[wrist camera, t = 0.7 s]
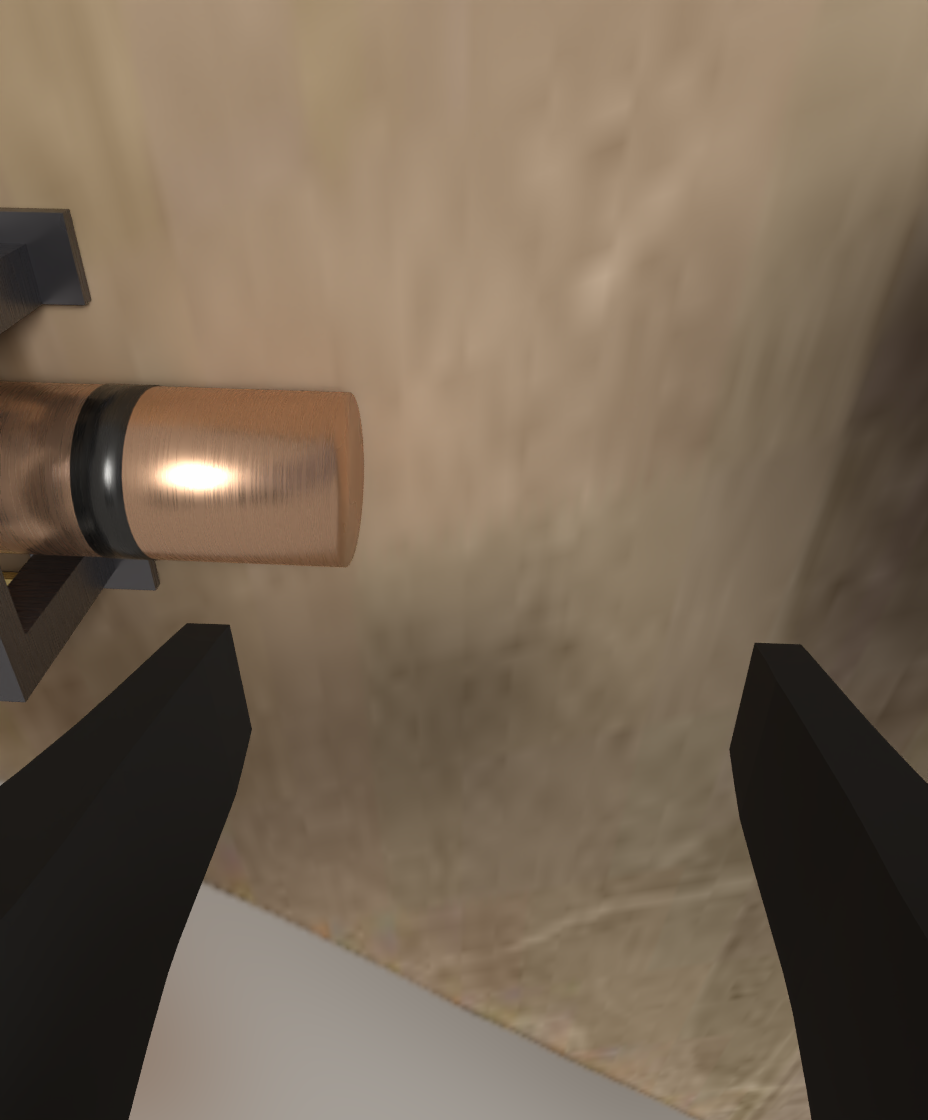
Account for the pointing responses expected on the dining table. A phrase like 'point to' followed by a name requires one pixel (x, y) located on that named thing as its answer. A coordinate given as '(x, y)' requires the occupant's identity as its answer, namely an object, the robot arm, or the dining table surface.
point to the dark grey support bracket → (45, 580)
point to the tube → (180, 473)
